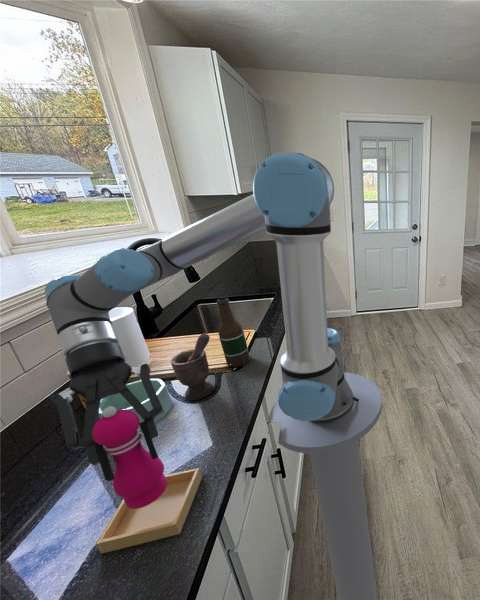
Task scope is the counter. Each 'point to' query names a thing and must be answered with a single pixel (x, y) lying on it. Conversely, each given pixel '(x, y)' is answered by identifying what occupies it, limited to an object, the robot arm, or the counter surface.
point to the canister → (129, 336)
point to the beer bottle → (232, 336)
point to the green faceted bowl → (142, 396)
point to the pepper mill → (129, 458)
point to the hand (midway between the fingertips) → (133, 467)
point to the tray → (152, 515)
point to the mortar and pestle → (193, 369)
